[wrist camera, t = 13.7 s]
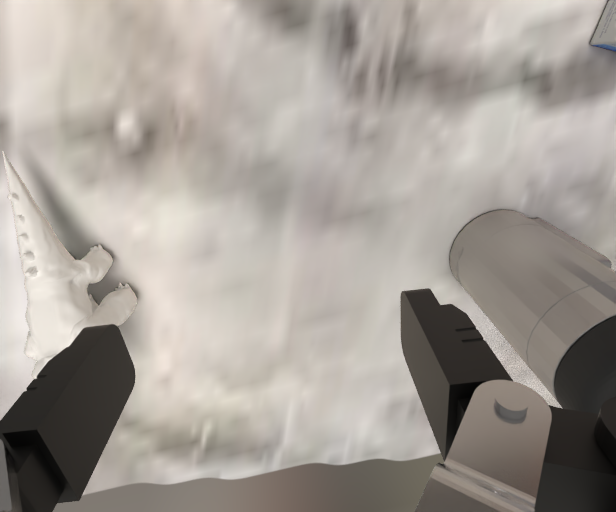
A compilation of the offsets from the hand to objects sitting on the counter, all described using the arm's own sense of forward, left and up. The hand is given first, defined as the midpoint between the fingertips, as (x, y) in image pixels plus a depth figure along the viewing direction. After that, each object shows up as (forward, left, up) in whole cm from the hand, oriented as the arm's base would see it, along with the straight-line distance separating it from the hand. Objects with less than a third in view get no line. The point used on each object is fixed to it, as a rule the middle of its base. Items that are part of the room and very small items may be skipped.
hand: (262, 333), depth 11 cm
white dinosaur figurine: (+19, +8, -27) cm, 34 cm away
